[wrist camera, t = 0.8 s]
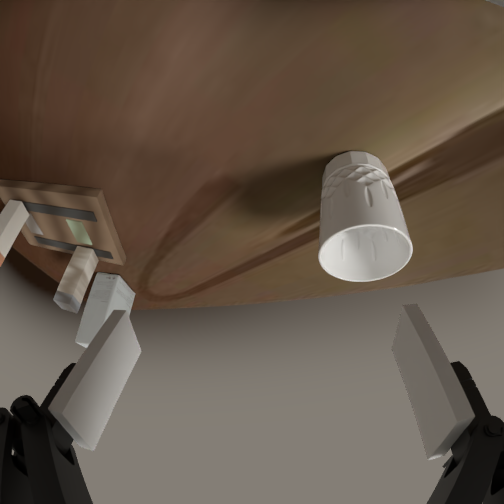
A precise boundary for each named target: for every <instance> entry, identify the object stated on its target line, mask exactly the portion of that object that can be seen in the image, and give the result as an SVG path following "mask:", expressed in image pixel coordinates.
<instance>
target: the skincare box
mask: <svg viewBox="0 0 504 504" xmlns="http://www.w3.org/2000/svg"><path fill="white" fill-rule="evenodd" d="M134 297H135V293H134V292H133V291H132V290H131V288H130V287H129V286H128V285H127V284H126V283H125V282H124V280H123V279H122V278H121V277H120V276H119V275H116V274H107V273H100V272H98V273H97V274H96V277H95V280H94V282H93V285H92V288H91V291H90V294H89V297H88V300H87V303H86V306H85V309H84V313H83V316H82V319H81V323H80V326H79V330H78V333H77V337H76V340H75V342H76V343H78V344H80V345H81V346H83V347H85V348H87V347H88V345H89V344H90V343H91V341H92V340H93V338H94V337H95V335H96V334H97V333H98V331H99V330H100V328H101V327H102V325H103V324H104V323H105V321H106V320H107V318H108V317H109V316H110V314H111V313H112V312H113V310H127V313H128V316H129V315H130V311H131V307H132V304H133V300H134Z"/></svg>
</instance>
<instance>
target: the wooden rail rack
mask: <svg viewBox="0 0 504 504" xmlns="http://www.w3.org/2000/svg"><path fill="white" fill-rule="evenodd" d="M0 198H1V199H2V201H3V203H4V205H5V206H6V204H7V203H8V202H9V200H15V201H22V203H23V204H24V206H25V208H26V210H27V212H28V213H29V217H28V218H27V220H26V222H25V223H24V225H23V227H22V228H21V232H22V233H23V235H24V236H25V238H26V239H27V241H28V242H29V244H31V245H35V246H39V247H43V248H48V249H52V250H56V251H60V252H65V253H69V254H73V256H72V258H71V260H70V262H69V264H68V267H67V269H66V271H65V273H64V275H63V278H62V280H61V282H60V285H59V287H58V290H57V292H56V294H55V297H54V301H55V302H56V303H57V304H58V305H59V306H60V307H61V308H62V309H65V310H68V311H71V312H74V313H78V310H79V308H80V305H81V302H82V300H83V297H84V294H85V292H86V289H87V287H88V284H89V282H90V279H91V277H92V275H93V272H94V270H95V268H96V265H97V263H98V261H99V260H101V261H105V262H110V263H115V264H119V265H124V263H125V260H126V255H125V253H124V250H123V248H122V245H121V243H120V240H119V237H118V235H117V232H116V229H115V226H114V224H113V221H112V218H111V215H110V212H109V209H108V207H107V204H106V201H105V198H104V195H103V191H102V189H96V188H87V187H78V186H69V185H59V184H49V183H39V182H27V181H15V180H3V179H0Z"/></svg>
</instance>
